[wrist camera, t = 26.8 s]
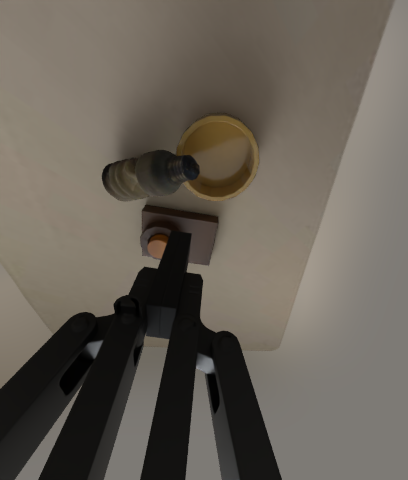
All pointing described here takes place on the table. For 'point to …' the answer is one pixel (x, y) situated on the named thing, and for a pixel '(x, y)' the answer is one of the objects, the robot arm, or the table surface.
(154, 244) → the lamp button
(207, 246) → the switch box
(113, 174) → the light bulb
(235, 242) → the table surface
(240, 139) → the lamp holder
